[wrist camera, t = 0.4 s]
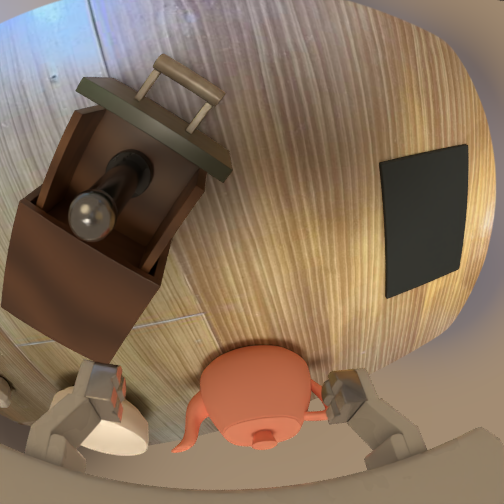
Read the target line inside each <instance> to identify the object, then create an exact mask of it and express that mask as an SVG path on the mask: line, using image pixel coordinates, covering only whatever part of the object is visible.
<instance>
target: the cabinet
mask: <svg viewBox="0 0 504 504" xmlns="http://www.w3.org/2000/svg"><path fill="white" fill-rule="evenodd" d="M42 185H43V184H42ZM42 185H41V186H39V187H38V188H36V189H35V190H34V191H32V192H31V193H30V194H28V195H27V196H26V197H25V198H23V199H22V200H20V202H19V205H18V209H17V213H16V217H15V221H14V225H13V230H12V234H11V239H10V244H9V249H8V255H7V261H6V267H5V274H4V282H3V291H2V301H1V307H2V308H3V309H5V310H6V311H8V312H9V313H11V314H12V315H14V316H15V317H17V318H18V319H20V320H21V321H23V322H24V323H26V324H28V325H29V326H31V327H32V328H34V329H36V330H37V331H39V332H41V333H42V334H44V335H46V336H48V337H49V338H51V339H53V340H55V341H56V342H58V343H60V344H62V345H64V346H65V347H67V348H69V349H71V350H73V351H75V352H77V353H79V354H81V355H83V356H85V357H87V358H89V359H91V360H93V361H96V362H100V363H106V364H109V363H110V362H111V360H112V358H113V357H114V355H115V354H116V352H117V351H118V349H119V347H120V346H121V344H122V343H123V341H124V340H125V338H126V337H127V335H128V334H129V332H130V331H131V329H132V328H133V326H134V325H135V323H136V322H137V320H138V319H139V317H140V316H141V314H142V313H143V311H144V310H145V308H146V307H147V305H148V304H149V302H150V301H151V299H152V298H153V296H154V295H155V294H156V292H157V291H158V289H159V288H160V286H161V282H162V278H163V273H164V269H165V265H166V261H167V256H168V252H169V248H170V244H171V240H172V238H171V240H170V241H169V243H168V244H167V246H166V247H165V249H164V250H163V252H162V253H161V255H160V256H159V258H158V259H157V261H156V262H155V264H154V265H153V267H152V268H151V270H150V271H149V273H146V272H144V271H143V270H141V269H139V268H137V267H135V266H134V265H132V264H130V263H128V262H127V261H125V260H123V259H121V258H120V257H118V256H116V255H114V254H113V253H111V252H109V251H108V250H106V249H104V248H102V247H101V246H99V245H97V244H96V243H94V242H87V241H83V240H81V239H79V238H78V237H77V236H76V235H75V234H74V233H73V232H72V230H71V228H70V227H68V226H66V225H65V224H63V223H62V222H60V221H58V220H57V219H55V218H54V217H52V216H51V215H49V214H48V213H46V212H45V211H43V210H42V209H40V208H39V207H37V206H36V203H37V200H38V197H39V194H40V191H41V188H42Z"/></svg>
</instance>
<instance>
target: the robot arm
mask: <svg viewBox="0 0 504 504" xmlns="http://www.w3.org/2000/svg"><path fill="white" fill-rule="evenodd" d="M328 378H329V379H328V380H327V381H325V382H324V384H323V386H322V390H321V396H322V401H323V403H324V404H325V405H326V406H327V409H326V411H325V412H326V415H327V418H328V422H329V424H337V423H344V422H347V424H348V425H349V426H350V427H351V428H352V429H353V430H354V431H355V432H356V433H357V434H358V435H359V436H360V437H361V438H362V439H363V440H364V441H365V442H366V443H367V444H368V445H369V446H370V448H371V449H372V450H373V451H372V452H371V453H370V454H368V455H367V456H366V457H365V459H364V460H365V463H366V467H367V471H363V472H359V473H355V474H351V475H347V476H342V477H338V478H333V479H328V480H323V481H317V482H311V483H305V484H298V485H290V486H282V487H272V488H260V489H243V490H197V489H179V488H167V487H157V486H149V485H141V484H134V483H128V482H123V481H117V480H112V479H107V478H102V477H98V476H94V475H90V474H85V469H86V459H85V458H84V457H83V456H82V455H81V454H80V453H79V452H78V451H77V450H76V449H77V448H78V447H79V446H80V445H81V444H82V442H83V441H84V440H85V439H86V438H87V437H88V436H89V434H90V433H91V432H92V431H93V430H94V429H95V427H96V426H97V425H98V424H99V423H100V422H101V420H106V421H112V422H119V423H121V420H122V413H123V407H122V404H121V402H122V401H123V400H124V399H125V395H126V381H125V377H124V376H122V368H121V366H119V365H113V364H106V363H100V362H96V361H89V360H83V362H82V363H81V366H80V369H79V372H78V375H77V378H76V382H75V385H74V388H73V392H72V394H69V393H68V394H67V395H66V396H65V397H64V398H63V399H61V400H60V401H59V402H58V403H57V404H56V405H54V406H53V407H52V408H51V409H50V410H49V411H47V412H46V413H45V414H44V415H43V416H42V417H41V418H39V419H38V420H37V421H36V422H35V423H34V424H32V426H31V429H30V433H29V437H28V441H27V445H26V449H25V452H24V453H21V452H19V451H16V450H14V449H12V448H9V447H7V446H5V445H3V444H1V443H0V504H504V445H503V443H502V442H501V440H500V439H499V438H498V437H496V436H495V435H494V434H492V433H491V432H489V431H488V430H486V429H484V428H482V427H478V428H475V429H473V430H471V431H469V432H467V433H465V434H463V435H461V436H459V437H457V438H455V439H453V440H451V441H448V442H446V443H444V444H441V445H439V446H437V447H434V448H432V449H430V450H427V448H426V445H425V443H424V441H423V438H422V435H421V433H420V431H419V428H418V426H416V425H415V424H414V423H412V422H411V421H410V420H409V419H407V418H406V417H405V416H403V415H402V414H401V413H400V412H398V411H397V410H396V409H394V408H393V407H392V406H390V405H389V404H388V403H387V402H386V401H384V400H383V399H382V398H381V399H379V398H378V395H377V393H376V391H375V388H374V386H373V384H372V381H371V379H370V377H369V374H368V372H367V370H366V369H365V368H359V369H348V370H339V371H332V372H330V373H329V375H328Z"/></svg>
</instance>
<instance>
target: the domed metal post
mask: <svg viewBox="0 0 504 504" xmlns="http://www.w3.org/2000/svg"><path fill="white" fill-rule="evenodd" d="M152 178H153V167H152V164H151V161H150V160H149V158H148V157H147V156H146V155H145V154H144V153H142V152H140V151H138V150H134V149H128V150H124V151H121V152H119V153H118V154H117V155H115V156H114V157H113V158H112V159H111V160H110V161H109V163H108V165H107V167H106V172H105V174H104V175H103V176H102V177H101V178H100V179H99V180H97V181H96V182H95V183H94V184H93V185H92V186H91V187H90V188H89V189H88V190H85V191H83V192H81V193H80V194H78V195H77V196H76V197H75V198H74V199H73V201H72V203H71V205H70V207H69V211H68V222H69V226H70V228H71V230H72V232H73V233H74V234H75V235H76V236H77V237H78V238H79V239H81V240H83V241H87V242H98V241H101V240H103V239H105V238H106V237H107V236H109V235H110V234H111V232H112V231H113V230H114V228H115V225H116V223H117V218H118V216H119V215H120V213H121V212H122V211H123V209H124V208H125V206H126V205H127V203H128V202H129V200H130V199H131V198H134V197H137V196H139V195H141V194H142V193H144V192H145V190H146V189H147V188H148V186H149V185H150V183H151V181H152Z"/></svg>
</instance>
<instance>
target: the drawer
mask: <svg viewBox="0 0 504 504" xmlns="http://www.w3.org/2000/svg"><path fill="white" fill-rule="evenodd" d="M153 68H154V70H153V71H152V73H151V74H150V75H149V77H148V78H147V80H146V81H145V83H144V84H143V86H142V87H141V88H140V90H139V91H138V92H137V91H135V90H134V89H132V88H130V87H129V86H127V85H125V84H123V83H122V82H120V81H118V80H116V79H115V78H106V77H83V78H82V80H81V82H80V83H79V85H78V87H77V89H76V92H78V93H80V94H81V95H83V96H85V97H87V98H88V99H90V100H92V101H93V102H95V103H97V104H99V105H96V106H92V107H87V108H83V109H79V110H75V111H74V113H73V115H72V117H71V119H70V121H69V123H68V125H67V127H66V129H65V131H64V134H63V136H62V138H61V140H60V142H59V145H58V147H57V149H56V152H55V154H54V157H53V159H52V161H51V164H50V166H49V169H48V172H47V174H46V177H45V180H44V182H43V185H42V188H41V191H40V194H39V197H38V200H37V203H36V206H37V207H39V208H40V209H42V210H43V211H45V212H46V213H48V214H49V215H51V216H52V217H54V218H55V219H57V220H58V221H60V222H62V223H63V224H65V225H66V226H68V227H70V226H69V222H68V211H69V207H70V205H71V203H72V201H73V199H74V198H75V197H76V196H77V195H78V194H80V193H81V192H83V191H85V190H88V189H89V188H90V187H91V186H92V185H93V184H94V183H95V182H96V181H97V180H99V179H100V178H101V177H102V176H103V175H104V174H105V172H106V167H107V165H108V163H109V161H110V160H111V159H112V158H113V157H114V156H115V155H117V154H118V153H119V152H121V151H124V150H128V149H134V150H138V151H140V152H142V153H144V154H145V155H146V156H147V157H148V158H149V160H150V161H151V164H152V167H153V178H152V181H151V183H150V185H149V186H148V188H147V189H146V190H145V192H144V193H142V194H141V195H139V196H137V197H134V198H131V199H130V200H129V202H128V203H127V205H126V206H125V208H124V209H123V211H122V212H121V213H120V215H119V216H118V218H117V223H116V225H115V228H114V230H113V231H112V232H111V234H110V235H109V236H107V237H106V238H105V239H103V240H101V241H98V242H94V243H96V244H97V245H99V246H101V247H102V248H104V249H106V250H108V251H109V252H111V253H113V254H114V255H116V256H118V257H120V258H121V259H123V260H125V261H127V262H128V263H130V264H132V265H134V266H135V267H137V268H139V269H141V270H143V271H144V272H146V273H149V271H150V270H151V268H152V267H153V265H154V264H155V262H156V261H157V259H158V258H159V256H160V255H161V253H162V252H163V250H164V249H165V247H166V246H167V244H168V243H169V241H170V240H171V238H172V237H173V235H174V234H175V232H176V231H177V230H178V228H179V227H180V225H181V224H182V222H183V221H184V220H185V218H186V217H187V215H188V214H189V212H190V211H191V210H192V208H193V207H194V205H195V204H196V203H197V201H198V200H199V198H200V197H201V196H202V194H203V193H204V192H205V184H206V176H207V173H209V174H210V175H212V176H213V177H215V178H216V179H218V180H219V181H221V182H222V183H224V181H225V180H226V179H227V177H228V176H229V175H230V174H231V172H232V171H233V169H232V163H231V157H230V152H229V150H227V149H226V148H224V147H223V146H221V145H220V144H218V143H217V142H215V141H214V140H212V139H211V138H210V137H208V136H207V135H205V134H204V133H202V132H201V131H199V130H198V129H196V127H197V126H198V125H199V123H200V122H201V121H202V119H203V118H204V117H205V115H206V114H207V113H208V111H209V110H210V109H211V107H212V106H214V107H215V106H216V105H217V104H218V103H219V102H220V100H221V99H222V98H223V96H224V95H225V94H226V93H225V92H224V91H222V90H221V89H219V88H218V87H216V86H215V85H213V84H212V83H210V82H209V81H207V80H206V79H204V78H203V77H201V76H200V75H198V74H197V73H195V72H193V71H192V70H190V69H189V68H187V67H185V66H184V65H182V64H181V63H179V62H177V61H176V60H174V59H172V58H171V57H169V56H167V55H166V54H162V55H160V56H159V57H158V59H157V60H156V61H155V63H154V65H153ZM161 73H163V74H164V75H166V76H168V77H169V78H171V79H172V80H174V81H176V82H177V83H179V84H180V85H182V86H184V87H185V88H187V89H188V90H190V91H192V92H193V93H195V94H196V95H198V96H199V97H201V98H202V99H204V100H205V101H207V102H206V103H205V104H204V105H203V107H202V108H201V109H200V111H199V112H198V113H197V115H196V116H195V117H194V119H193V120H192V122H191V123H190V124H188V123H187V122H185V121H184V120H182V119H181V118H179V117H178V116H176V115H174V114H173V113H171V112H170V111H168V110H166V109H165V108H163V107H162V106H160V105H158V104H157V103H155V102H154V101H152V100H150V99H149V98H147V97H145V95H146V94H147V92H148V91H149V90H150V88H151V87H152V85H153V84H154V82H155V81H156V80H157V78H158V77H159V75H160V74H161Z"/></svg>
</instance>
